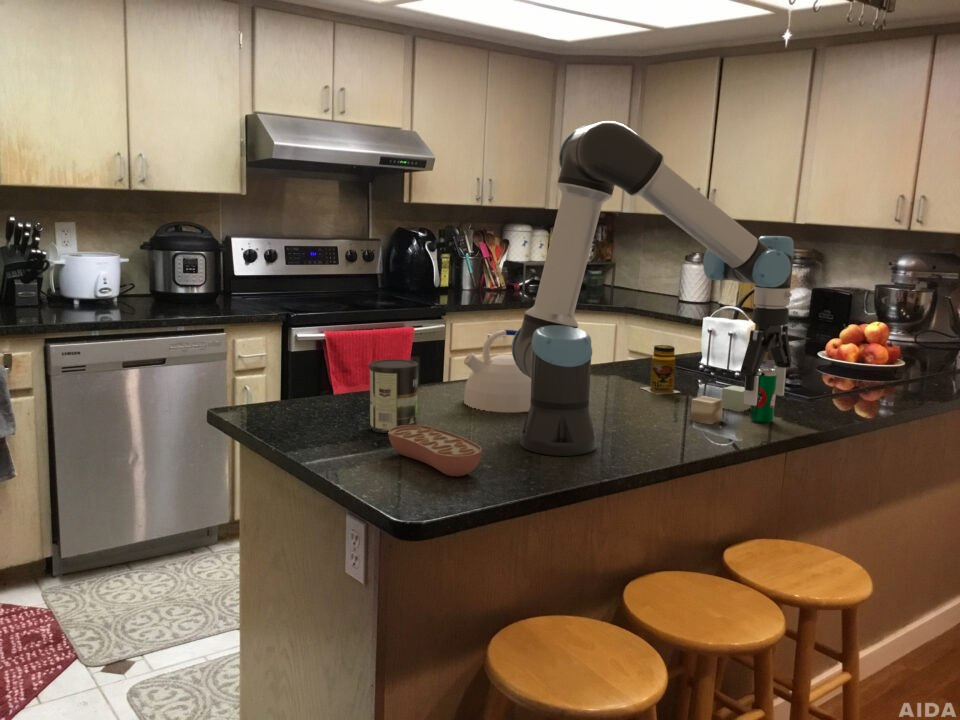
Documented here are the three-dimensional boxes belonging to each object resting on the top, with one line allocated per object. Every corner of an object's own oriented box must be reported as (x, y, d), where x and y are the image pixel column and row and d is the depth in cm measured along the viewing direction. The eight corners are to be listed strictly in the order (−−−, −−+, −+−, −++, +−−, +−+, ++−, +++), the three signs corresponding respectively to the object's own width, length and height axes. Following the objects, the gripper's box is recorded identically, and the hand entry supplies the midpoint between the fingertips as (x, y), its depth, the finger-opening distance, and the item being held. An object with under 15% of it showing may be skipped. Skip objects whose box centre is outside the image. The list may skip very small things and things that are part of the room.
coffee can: (415, 421, 185) (415, 358, 182) (419, 434, 175) (420, 367, 172) (368, 422, 183) (368, 358, 181) (370, 435, 173) (369, 368, 171)
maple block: (710, 424, 187) (711, 403, 186) (690, 420, 191) (691, 399, 190) (721, 421, 191) (722, 399, 190) (701, 416, 194) (702, 395, 193)
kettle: (451, 396, 210) (452, 324, 207) (528, 391, 217) (531, 322, 213) (476, 415, 191) (477, 337, 188) (560, 410, 198) (563, 334, 194)
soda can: (774, 424, 188) (779, 372, 186) (751, 423, 189) (755, 371, 187) (771, 419, 193) (776, 368, 191) (748, 417, 194) (752, 366, 192)
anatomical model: (379, 454, 161) (379, 429, 160) (422, 446, 167) (422, 421, 166) (450, 487, 143) (450, 459, 142) (495, 476, 149) (495, 449, 148)
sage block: (740, 412, 199) (741, 391, 198) (721, 408, 203) (722, 388, 202) (750, 408, 203) (751, 388, 202) (731, 405, 206) (732, 385, 205)
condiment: (658, 395, 215) (661, 349, 213) (639, 388, 223) (641, 343, 221) (681, 393, 218) (684, 347, 216) (661, 386, 226) (664, 342, 224)
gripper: (761, 313, 175) (754, 411, 179) (811, 303, 192) (803, 393, 196) (728, 309, 180) (721, 405, 184) (779, 300, 198) (773, 388, 202)
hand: (764, 399), depth 190 cm, fingers open, 13 cm apart
